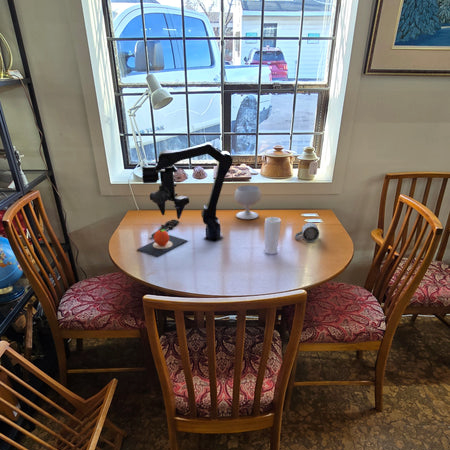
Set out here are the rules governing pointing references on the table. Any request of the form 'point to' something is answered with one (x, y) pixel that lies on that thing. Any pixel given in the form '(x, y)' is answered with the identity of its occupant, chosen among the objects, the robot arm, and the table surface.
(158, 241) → the clementine
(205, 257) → the table surface
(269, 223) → the drinking glass
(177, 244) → the placemat
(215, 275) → the table surface
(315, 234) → the ceramic mug
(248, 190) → the chalice
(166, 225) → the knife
